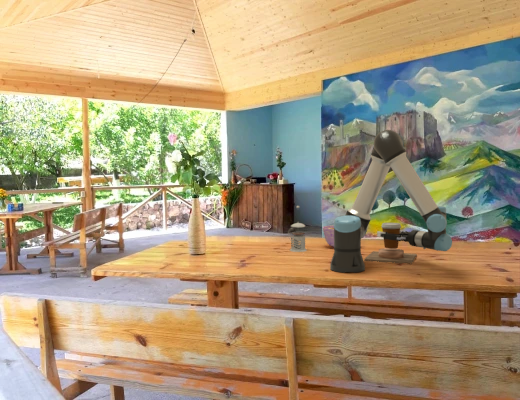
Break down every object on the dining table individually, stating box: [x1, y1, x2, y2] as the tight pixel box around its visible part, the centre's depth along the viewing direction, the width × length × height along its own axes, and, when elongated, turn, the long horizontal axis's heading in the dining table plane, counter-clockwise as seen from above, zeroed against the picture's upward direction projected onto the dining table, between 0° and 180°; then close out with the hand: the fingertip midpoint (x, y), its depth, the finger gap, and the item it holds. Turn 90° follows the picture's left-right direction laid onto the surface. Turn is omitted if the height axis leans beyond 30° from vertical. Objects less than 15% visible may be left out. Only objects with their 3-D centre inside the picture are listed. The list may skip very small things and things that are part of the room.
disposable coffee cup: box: [381, 222, 402, 249], centre depth 222 cm, size 10×10×12 cm
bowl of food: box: [322, 224, 334, 249], centre depth 257 cm, size 20×20×12 cm
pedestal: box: [363, 247, 418, 265], centre depth 223 cm, size 22×22×4 cm
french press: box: [287, 205, 308, 253], centre depth 249 cm, size 10×12×25 cm
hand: (384, 233), depth 226 cm, fingers closed on disposable coffee cup, 8 cm apart
